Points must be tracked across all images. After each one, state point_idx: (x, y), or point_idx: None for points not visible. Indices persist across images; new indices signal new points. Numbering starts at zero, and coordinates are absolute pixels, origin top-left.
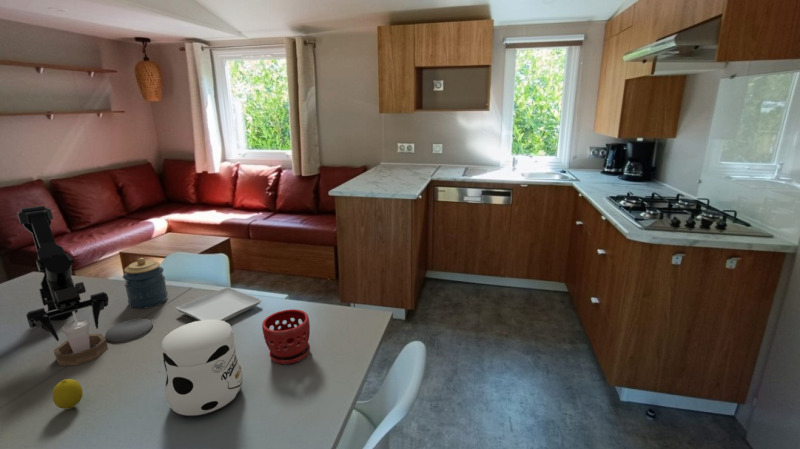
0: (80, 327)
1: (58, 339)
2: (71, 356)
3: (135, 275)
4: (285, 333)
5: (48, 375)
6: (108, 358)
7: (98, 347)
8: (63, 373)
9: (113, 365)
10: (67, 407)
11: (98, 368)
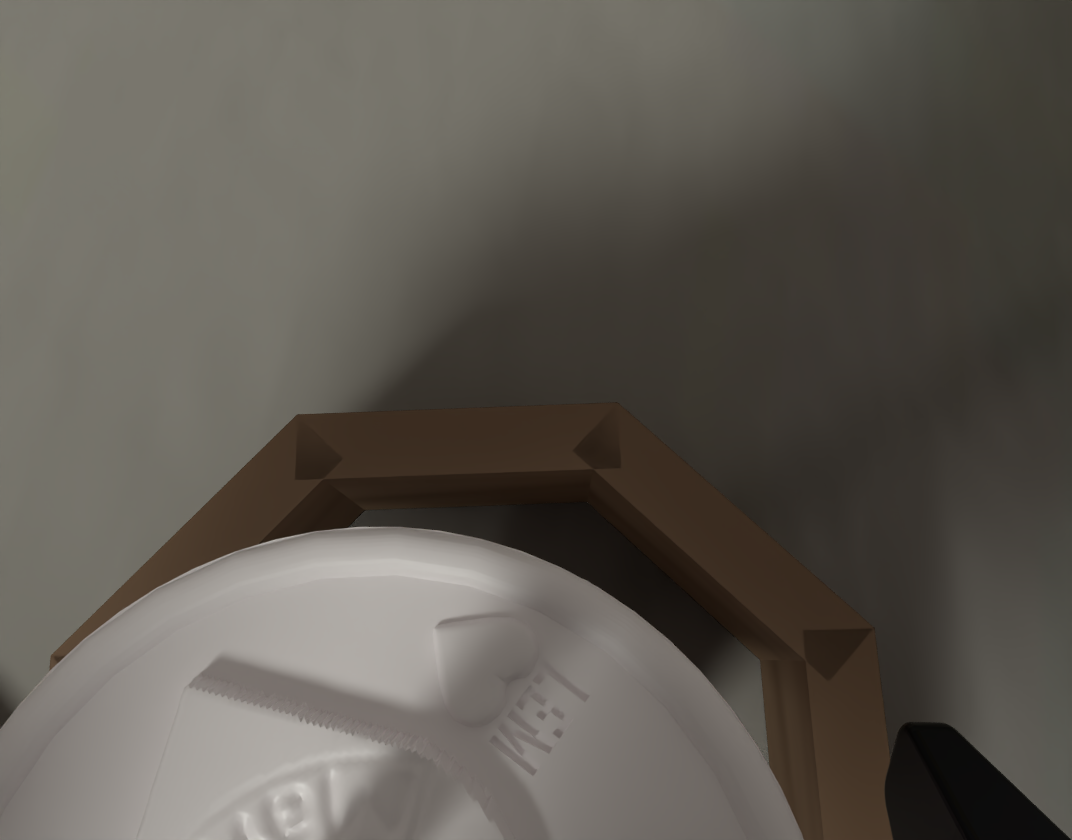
0: (283, 551)
1: (910, 727)
2: (669, 449)
3: None
4: None
5: (966, 447)
6: (247, 302)
7: (250, 476)
8: (793, 344)
9: (263, 68)
10: None
11: (419, 132)
